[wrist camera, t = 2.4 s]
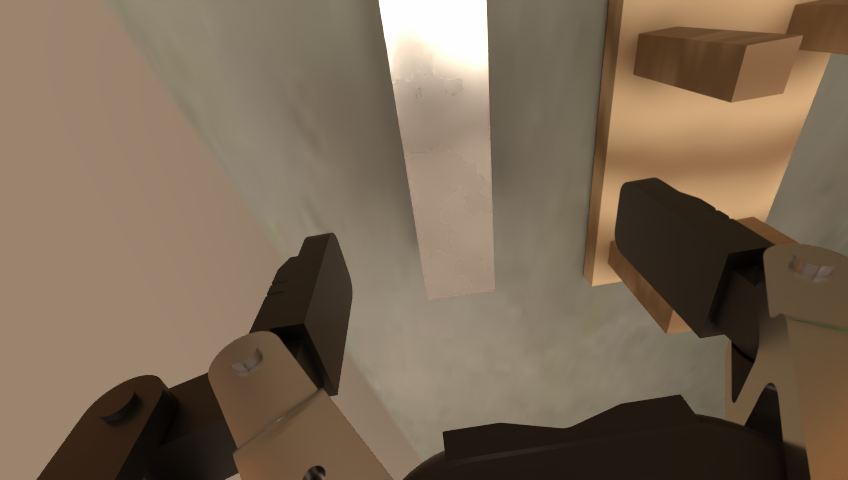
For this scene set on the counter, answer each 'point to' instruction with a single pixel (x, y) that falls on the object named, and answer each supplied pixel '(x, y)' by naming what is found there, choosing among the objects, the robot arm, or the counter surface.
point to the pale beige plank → (445, 136)
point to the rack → (703, 112)
